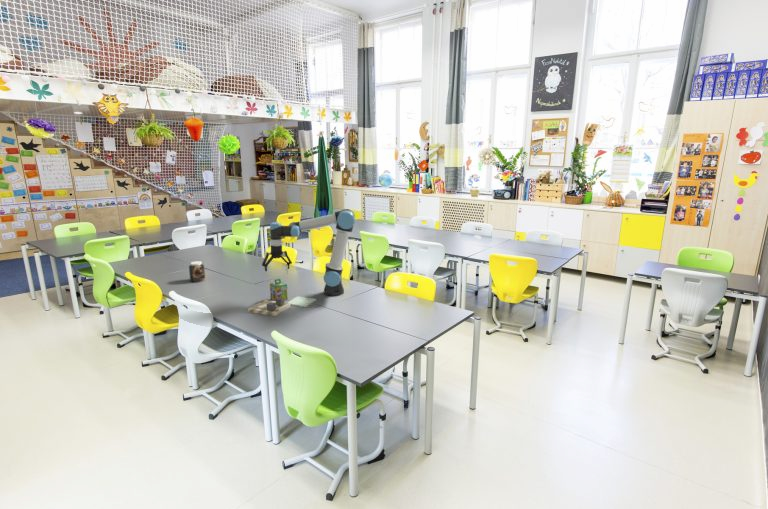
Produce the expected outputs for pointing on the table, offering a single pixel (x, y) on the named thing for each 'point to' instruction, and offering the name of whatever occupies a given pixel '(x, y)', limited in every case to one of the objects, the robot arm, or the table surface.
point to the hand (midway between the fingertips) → (277, 274)
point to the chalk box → (278, 290)
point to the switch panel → (262, 309)
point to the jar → (197, 271)
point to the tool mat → (301, 301)
